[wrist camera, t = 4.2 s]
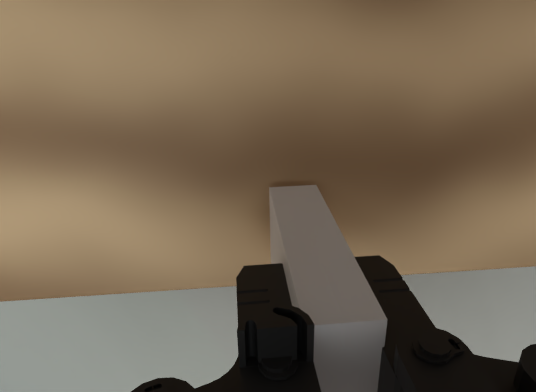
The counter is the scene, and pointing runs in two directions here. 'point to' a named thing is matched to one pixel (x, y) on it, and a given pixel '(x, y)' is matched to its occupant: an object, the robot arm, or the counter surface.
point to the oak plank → (259, 136)
